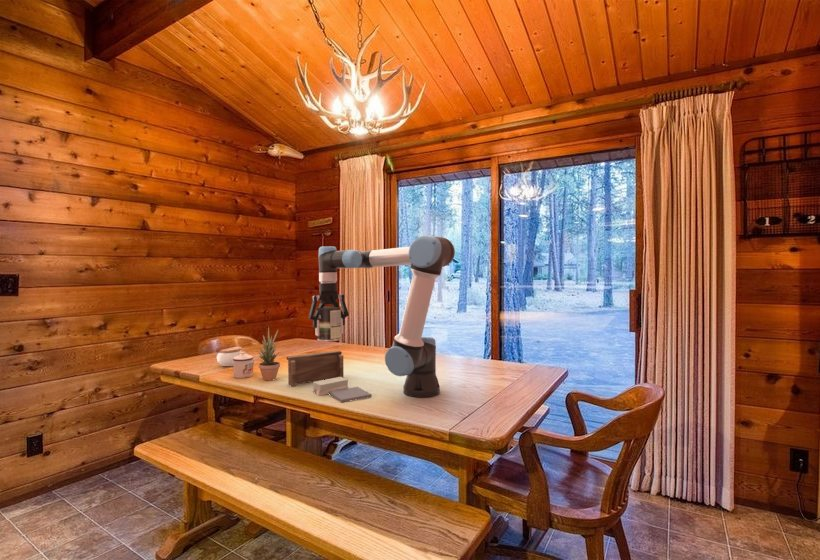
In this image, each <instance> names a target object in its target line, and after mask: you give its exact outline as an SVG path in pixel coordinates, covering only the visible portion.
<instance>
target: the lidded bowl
mask: <svg viewBox="0 0 820 560" xmlns="http://www.w3.org/2000/svg"><path fill="white" fill-rule="evenodd" d="M241 352H242V347H241V346H237V345H231V344H227V346H221V347H217V348H216V349H215V355H216V360H217V363H218V364H220V366H221V367H223V366H231V367H233V358H234V357H235V356H238V355H239V354H241Z"/></svg>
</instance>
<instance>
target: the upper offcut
mask: <svg viewBox="0 0 820 560" xmlns="http://www.w3.org/2000/svg"><path fill="white" fill-rule="evenodd" d="M348 381H349V379H348V378H346V377H345V378H342V377H336V378H331V379H325V380H318V381H312V382H313V383H312V389H313V388H314V389H316V390H319V391H324V390H329V389H334V388H338V387H343V386H348V387H349V382H348Z"/></svg>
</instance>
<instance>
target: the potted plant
mask: <svg viewBox="0 0 820 560" xmlns="http://www.w3.org/2000/svg"><path fill="white" fill-rule="evenodd" d="M269 327H270V326H268V329H267V330H268V331H267V341H266V338H265V335H264V334H263V335H262V337H263V341H262V347H263V349H261V347H259V348H258V349H259V350H260V352H259V355H258V357H259V358H260V359H261V362H260V363H258V369H259V370H260V375H261V377H262V380H263V381H265V380H270V381H274V380H273V379H275V380H276V379H277V376H278V372H279V368H280V366H281V363H280V362H279V361H275V359H276V357H277V356H278V354H279V353H280V352H277V353H275V352H276V346H277V344H278V341H277V342H276V343H275V341H276V338H277V336H278V333H279V329H277V330H276V333H275V334H274V337H273V335H270V328H269ZM270 336H271V337H270ZM274 343H275V344H274Z"/></svg>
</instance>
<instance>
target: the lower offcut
mask: <svg viewBox="0 0 820 560" xmlns="http://www.w3.org/2000/svg"><path fill="white" fill-rule="evenodd" d="M347 388H349V385H348V386H343V387H338V388H334V389H329V390H324V391H319V390H316V389H314V388H313V387H312V392H313V393H314V392H315V394H316V395H317V394H318V395H317V396H323V395H322V394H325V395H329V394H328V393H329V391H335V390H341V389H347Z"/></svg>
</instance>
